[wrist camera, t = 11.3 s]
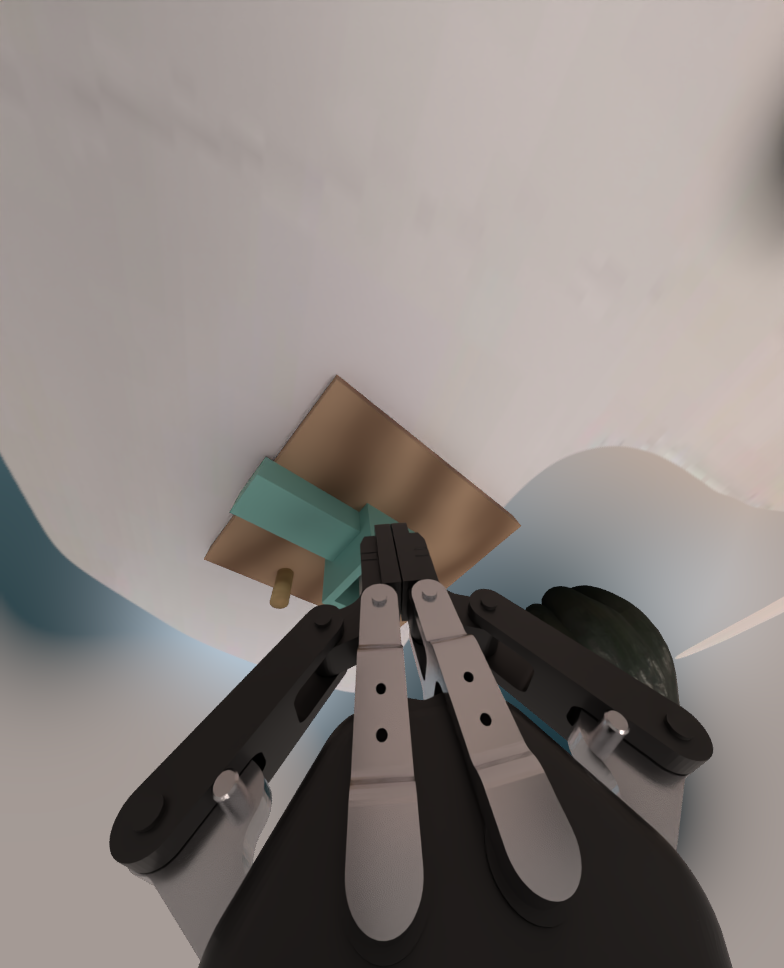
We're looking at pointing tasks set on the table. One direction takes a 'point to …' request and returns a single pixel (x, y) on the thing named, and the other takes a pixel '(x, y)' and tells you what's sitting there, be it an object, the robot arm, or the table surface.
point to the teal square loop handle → (311, 525)
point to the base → (366, 498)
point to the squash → (611, 633)
